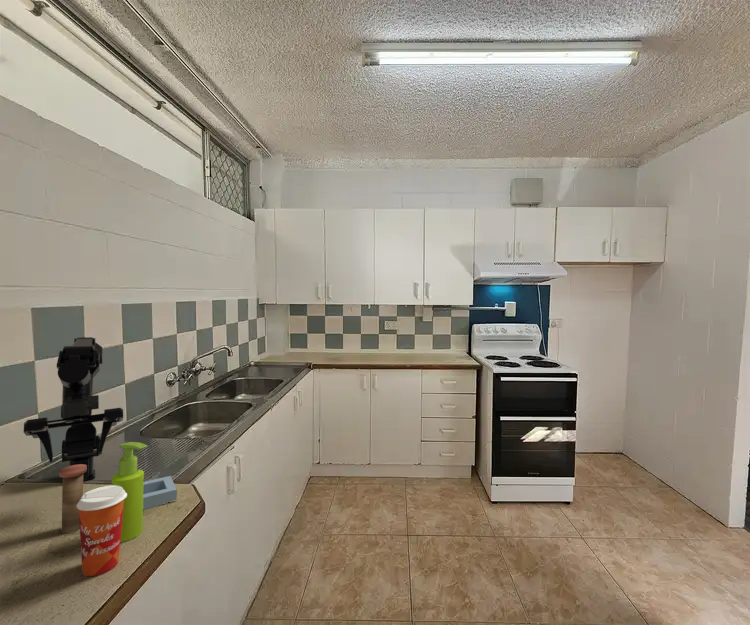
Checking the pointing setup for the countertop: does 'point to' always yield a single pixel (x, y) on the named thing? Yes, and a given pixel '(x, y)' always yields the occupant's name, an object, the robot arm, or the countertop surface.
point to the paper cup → (101, 528)
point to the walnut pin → (71, 496)
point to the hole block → (158, 492)
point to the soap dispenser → (131, 491)
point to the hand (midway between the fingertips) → (76, 457)
